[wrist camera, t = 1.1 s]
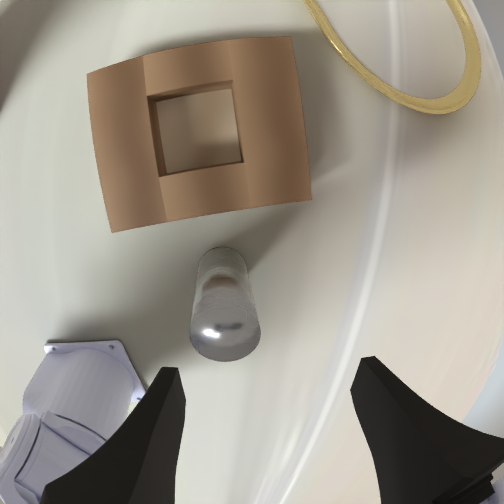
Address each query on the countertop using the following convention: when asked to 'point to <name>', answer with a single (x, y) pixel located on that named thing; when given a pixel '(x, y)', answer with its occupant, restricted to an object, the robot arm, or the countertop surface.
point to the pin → (223, 308)
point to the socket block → (199, 131)
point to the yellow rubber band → (418, 104)
